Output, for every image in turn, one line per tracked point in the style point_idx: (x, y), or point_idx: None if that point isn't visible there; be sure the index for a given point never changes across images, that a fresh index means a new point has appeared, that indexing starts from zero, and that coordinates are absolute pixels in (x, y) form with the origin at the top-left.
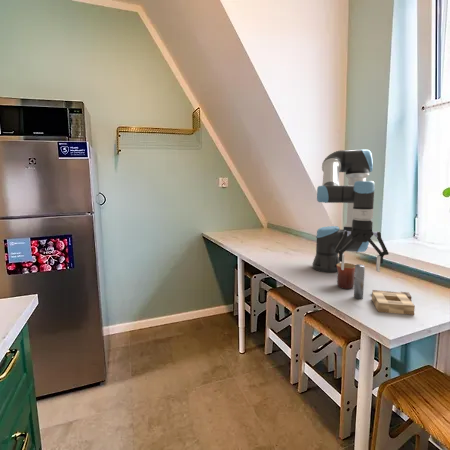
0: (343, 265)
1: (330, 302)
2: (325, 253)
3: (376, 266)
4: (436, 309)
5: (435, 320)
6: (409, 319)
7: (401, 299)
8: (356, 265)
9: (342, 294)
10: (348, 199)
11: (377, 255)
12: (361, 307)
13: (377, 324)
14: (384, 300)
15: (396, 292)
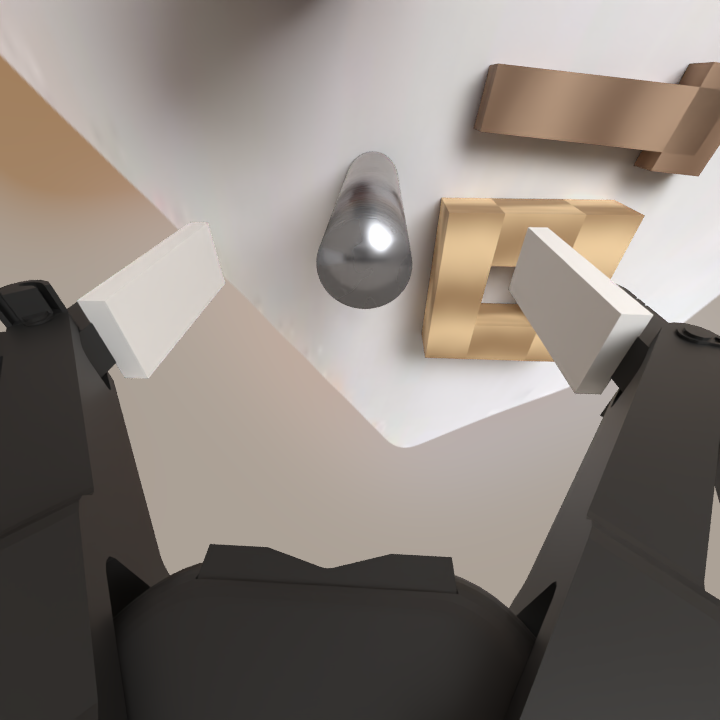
0: (203, 305)
1: (234, 276)
2: None
3: (540, 253)
4: (708, 270)
5: None
6: (506, 370)
7: None
8: (327, 269)
9: (282, 137)
10: None
11: (601, 344)
12: None
13: (388, 407)
14: (462, 329)
15: (658, 96)
